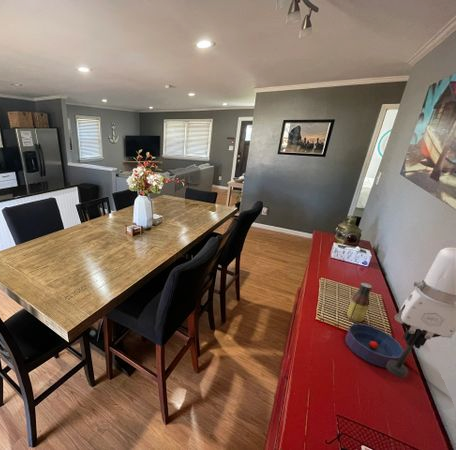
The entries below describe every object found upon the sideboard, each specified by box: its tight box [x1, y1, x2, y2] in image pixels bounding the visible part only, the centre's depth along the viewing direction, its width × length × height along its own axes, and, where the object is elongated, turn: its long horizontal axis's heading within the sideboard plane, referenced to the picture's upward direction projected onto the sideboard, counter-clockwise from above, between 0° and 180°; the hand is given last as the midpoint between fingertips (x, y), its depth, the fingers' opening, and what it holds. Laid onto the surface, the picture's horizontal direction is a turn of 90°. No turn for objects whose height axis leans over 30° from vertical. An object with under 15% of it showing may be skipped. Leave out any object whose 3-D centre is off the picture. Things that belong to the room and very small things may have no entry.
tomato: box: [369, 341, 379, 349], centre depth 100 cm, size 3×3×3 cm
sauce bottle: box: [346, 282, 373, 323], centre depth 113 cm, size 7×6×20 cm
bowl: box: [344, 323, 404, 369], centre depth 99 cm, size 17×17×6 cm
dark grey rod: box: [385, 328, 422, 379], centre depth 72 cm, size 5×5×17 cm
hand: (411, 343), depth 71 cm, fingers closed on dark grey rod, 1 cm apart
